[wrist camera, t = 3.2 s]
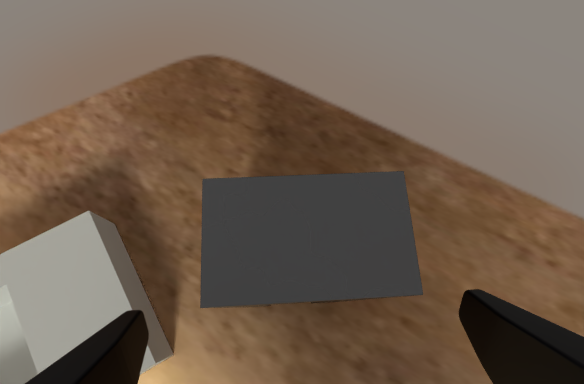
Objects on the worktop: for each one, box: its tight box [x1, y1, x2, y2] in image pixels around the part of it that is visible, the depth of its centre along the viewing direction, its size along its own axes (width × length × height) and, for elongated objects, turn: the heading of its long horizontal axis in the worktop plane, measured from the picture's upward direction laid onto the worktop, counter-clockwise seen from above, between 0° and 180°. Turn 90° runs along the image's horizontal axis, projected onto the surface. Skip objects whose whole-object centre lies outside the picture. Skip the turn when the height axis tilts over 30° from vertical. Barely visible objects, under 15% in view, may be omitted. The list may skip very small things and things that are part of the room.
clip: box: [200, 171, 423, 308], centre depth 14 cm, size 3×5×12 cm, turn 93°
